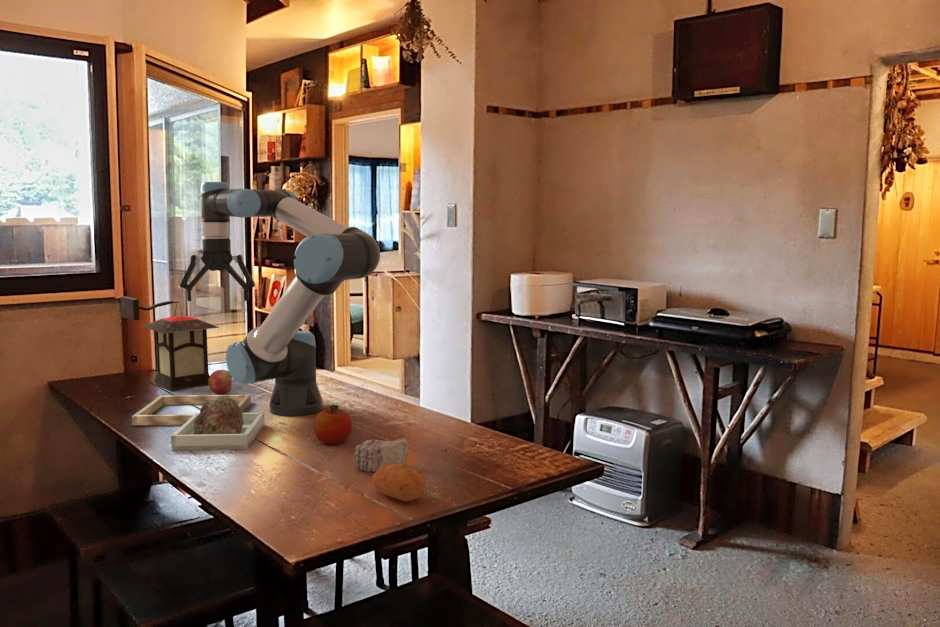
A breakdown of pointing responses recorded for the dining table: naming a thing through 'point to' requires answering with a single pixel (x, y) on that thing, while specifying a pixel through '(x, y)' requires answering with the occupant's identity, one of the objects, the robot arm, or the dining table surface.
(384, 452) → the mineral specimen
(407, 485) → the potato
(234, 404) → the rock
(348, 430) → the fruit
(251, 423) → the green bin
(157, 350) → the lantern
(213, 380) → the fruit
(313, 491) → the dining table surface
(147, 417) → the pine frame
